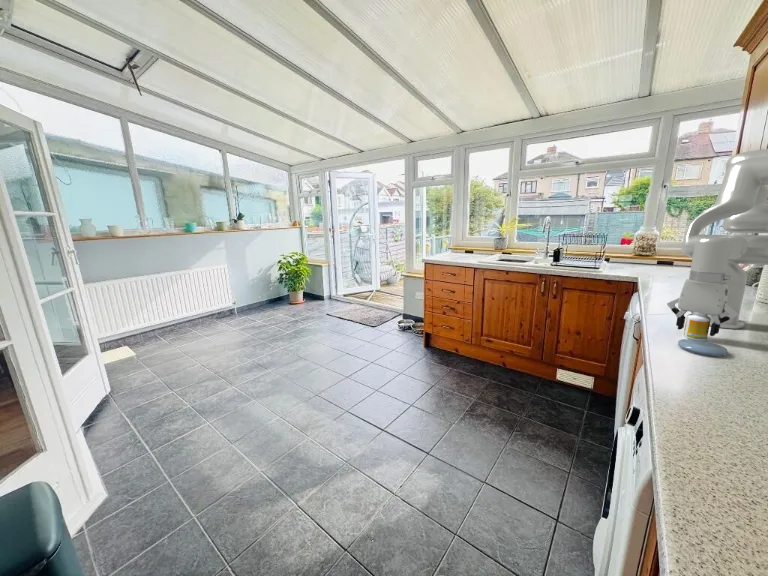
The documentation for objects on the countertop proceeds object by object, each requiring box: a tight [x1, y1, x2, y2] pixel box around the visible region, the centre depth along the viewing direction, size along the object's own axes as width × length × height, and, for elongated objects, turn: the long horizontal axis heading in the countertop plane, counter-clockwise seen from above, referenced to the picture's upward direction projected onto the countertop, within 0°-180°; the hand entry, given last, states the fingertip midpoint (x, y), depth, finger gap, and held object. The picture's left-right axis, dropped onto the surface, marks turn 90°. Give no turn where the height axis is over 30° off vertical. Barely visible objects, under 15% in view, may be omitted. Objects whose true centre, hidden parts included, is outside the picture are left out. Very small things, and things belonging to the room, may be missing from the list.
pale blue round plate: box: [677, 338, 728, 357], centre depth 90 cm, size 10×10×2 cm
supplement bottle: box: [683, 312, 711, 341], centre depth 98 cm, size 5×5×10 cm
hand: (696, 331), depth 98 cm, fingers open, 6 cm apart
